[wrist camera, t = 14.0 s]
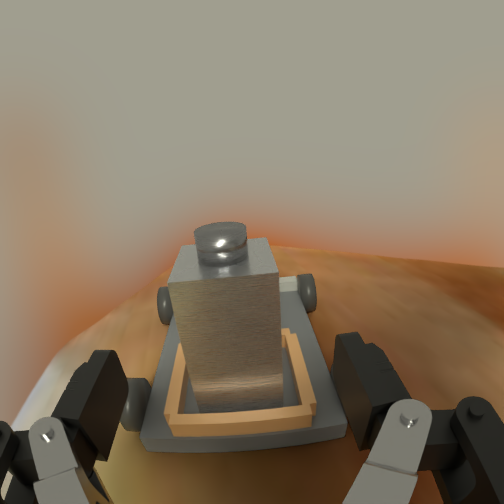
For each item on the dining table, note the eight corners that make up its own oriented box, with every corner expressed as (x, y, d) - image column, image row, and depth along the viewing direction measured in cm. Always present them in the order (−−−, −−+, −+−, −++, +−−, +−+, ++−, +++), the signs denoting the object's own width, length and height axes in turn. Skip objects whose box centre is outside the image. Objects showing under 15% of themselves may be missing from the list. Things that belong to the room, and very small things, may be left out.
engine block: (204, 363, 22) (178, 221, 18) (273, 357, 22) (264, 212, 18) (200, 414, 17) (161, 251, 13) (283, 407, 17) (277, 239, 14)
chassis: (170, 308, 33) (163, 277, 31) (306, 296, 33) (306, 264, 32) (129, 449, 16) (108, 414, 14) (363, 432, 16) (373, 394, 15)
